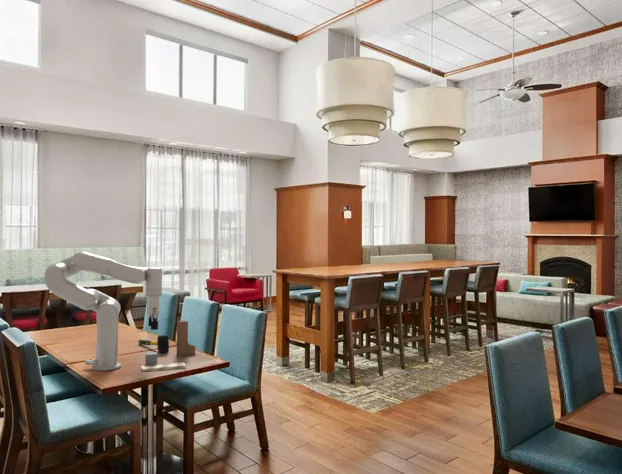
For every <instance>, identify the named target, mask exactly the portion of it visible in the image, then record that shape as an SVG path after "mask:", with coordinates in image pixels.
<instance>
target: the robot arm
mask: <svg viewBox="0 0 622 474" xmlns="http://www.w3.org/2000/svg"><path fill="white" fill-rule="evenodd" d="M83 271H84V272H88V273H92V274H96V275H99V276H104V277H107V278H109V279H110V278H112V279H115V280H118V281H121V282H127V283H130V284H136V285H138V284H141V283H142V282H145V297H147V298H146V316H147V317H148V322H147V323H148V327H150V330H151V331H154V330H155V331H157V330H159V316H160V297H162V295H163V293H162V291H163V269H162V267H158V266H157V267H155V266H153V267H152V266H151V267H143V266H131V265H130V266H129V265H128V264H123V263H120V262H117V261H116V260H115V259H114V260H113V259H111V258H109V257H105V256H100V255H96V254H93V253H90V252H88V251H84V250H83V251H78V252H76V253H74V254H73V255H72V256H70V257H67V258H66V259H63V260H61V261H59V262H55V263H52V264H50V265H49V266H48V267H47V268H46V269H45V272H44V283H45V286H46V288H47V289H48V291H49V292H51V293H52V294H53V295H55V296H57V297H59V298H60V299H62V300H64V301H66V302H67V303H70V304H72V305H74V306H76V307H77V308H80V309H81V310H83V311H89V310H91V311H93V312H95V313H96V343H95V345H96V346H95V348H96V349H95V352H96V353H95V356H94V358H92V359H86V360H84V361H85V362H84V365H89V366H90V365H92V366H91V368H92V370H94V371H102V372H105V371H113V370H117V369H120V368H121V366H122V364H121V363H120V362H118V357H119V356H118V354H119V353H118V352H119V351H118V349H119V315H120V313H121V304H120V302H119V301H118V300H117V299H115V298H113V297H111V296H109V295H107V294H106V293H103V292H101V291H99V290H98V289H94V288H84V287H82V286H80V285H78V284H76V283H75V282H72V281H70V280H68V278H71V277H72V276H74V275H77V274H79V273H81V272H83Z"/></svg>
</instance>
